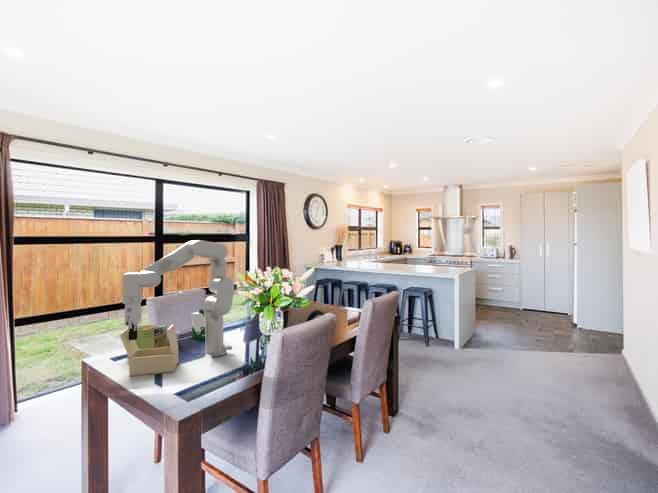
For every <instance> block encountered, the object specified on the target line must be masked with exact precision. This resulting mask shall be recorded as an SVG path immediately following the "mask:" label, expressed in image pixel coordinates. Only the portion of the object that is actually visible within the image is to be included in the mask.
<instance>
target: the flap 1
mask: <svg viewBox="0 0 658 493" xmlns="http://www.w3.org/2000/svg"><path fill="white" fill-rule="evenodd" d="M118 336H119V338H120V340H121V342H122V346H124V349H125V351H126V354H127V357H128V356H129V357H131V356H132V355H133V354H134V353H135V352H136V351H137V350H138V349H139V348H138V346H137V344H136V341H135V340H129V331H128V328H126V329H125V330H124V331H122V332H121V333H119V335H118Z"/></svg>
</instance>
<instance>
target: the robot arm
mask: <svg viewBox="0 0 658 493" xmlns="http://www.w3.org/2000/svg"><path fill="white" fill-rule="evenodd" d="M228 253H229V248H228V247H227V245H225V244H223V243H219V242H213V241H208V240H203V239H201V240H200V239H196V240H195V239H194V240H189V241H187V242H185V243H184V244H182V245H181V246H180V247H178V248H177V249H175V250H174V251H172V252H170V253H169V254H167V255H166V256H163V257H161V258H160V259H159V260H157V261H155V262H153V263H151V264H150V265H148V266H146V267H145V268H144V269H142V270H140V271H139V272H125V273H124V274H123V275H122V278H121V279H122V304H123V305H124V325H125V326H127V329H128V331H129V340H136V339H137V326H139V324H140V323H141V322H142V320H143V319H142V306H141V303H142V302H143V301H142V300H143V299H142V298H143V296H142V295H143V294H142V288H155V287H158V286H159V285H160V283H161V281H162V278H161V276H163V275H164V274H168V273H170V272H173V271H177V270H178V269H181V268H183V267H184V266H185V265H186V264H188V263H189V262H191V261H192V260H193V259H194V258H196V257H199V258H205V259H206V260H208V262H209V263H210V274H209V281H208V290H209V291H210V292H211V293H212V294H213V293H214V294H216V295H209V296H207V297H206V298H205V299H204V301H203V305H202V309H204V315H205V338H204V340H205V341H204V342H205V345H204V347H205V348H204V349H205V350H204V351H203V353H205V354H210V355H211V356H210V358H214V357H215V358H216V357H221V356H224V355H226V354H227V350H228V351H229V350H230V351H231V350H232V349H233V346H232V345H225V343H224V316H226V315H227V314H229V313H230V311H231V310H232V308H233V307H232V306H233V299H234V292H235V284H234V281H233V279H232V278H230V277H228V276H227V272H228V271H227V270H228V266H227V264H228V263H227V261H226V258H227V256H228V255H229V254H228Z"/></svg>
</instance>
